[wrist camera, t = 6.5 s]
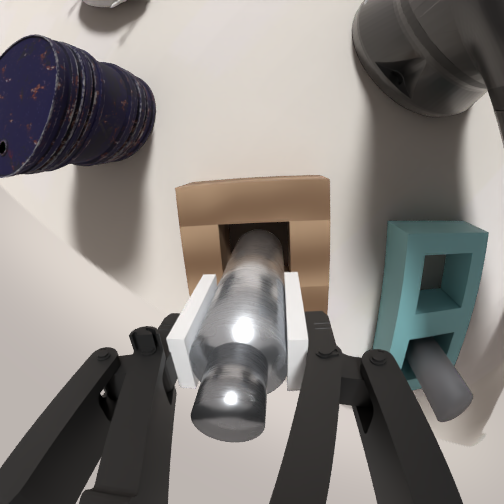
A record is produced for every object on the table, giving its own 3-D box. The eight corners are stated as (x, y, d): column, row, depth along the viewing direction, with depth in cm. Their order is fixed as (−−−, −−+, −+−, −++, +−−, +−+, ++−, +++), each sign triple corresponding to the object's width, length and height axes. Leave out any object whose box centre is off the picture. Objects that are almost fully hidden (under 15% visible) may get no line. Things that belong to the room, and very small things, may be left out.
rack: (387, 220, 27) (458, 268, 14) (462, 220, 26) (541, 259, 13) (368, 369, 32) (395, 449, 20) (433, 358, 32) (472, 425, 19)
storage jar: (87, 76, 24) (-11, 51, 9) (165, 71, 23) (77, 16, 9) (75, 161, 27) (-30, 178, 13) (149, 166, 27) (46, 183, 12)
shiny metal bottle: (232, 230, 24) (153, 375, 8) (282, 228, 23) (291, 381, 7) (236, 275, 25) (182, 447, 9) (283, 274, 25) (288, 453, 8)
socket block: (192, 182, 27) (175, 188, 22) (319, 175, 26) (329, 179, 21) (205, 296, 31) (194, 320, 26) (319, 293, 29) (327, 318, 25)
